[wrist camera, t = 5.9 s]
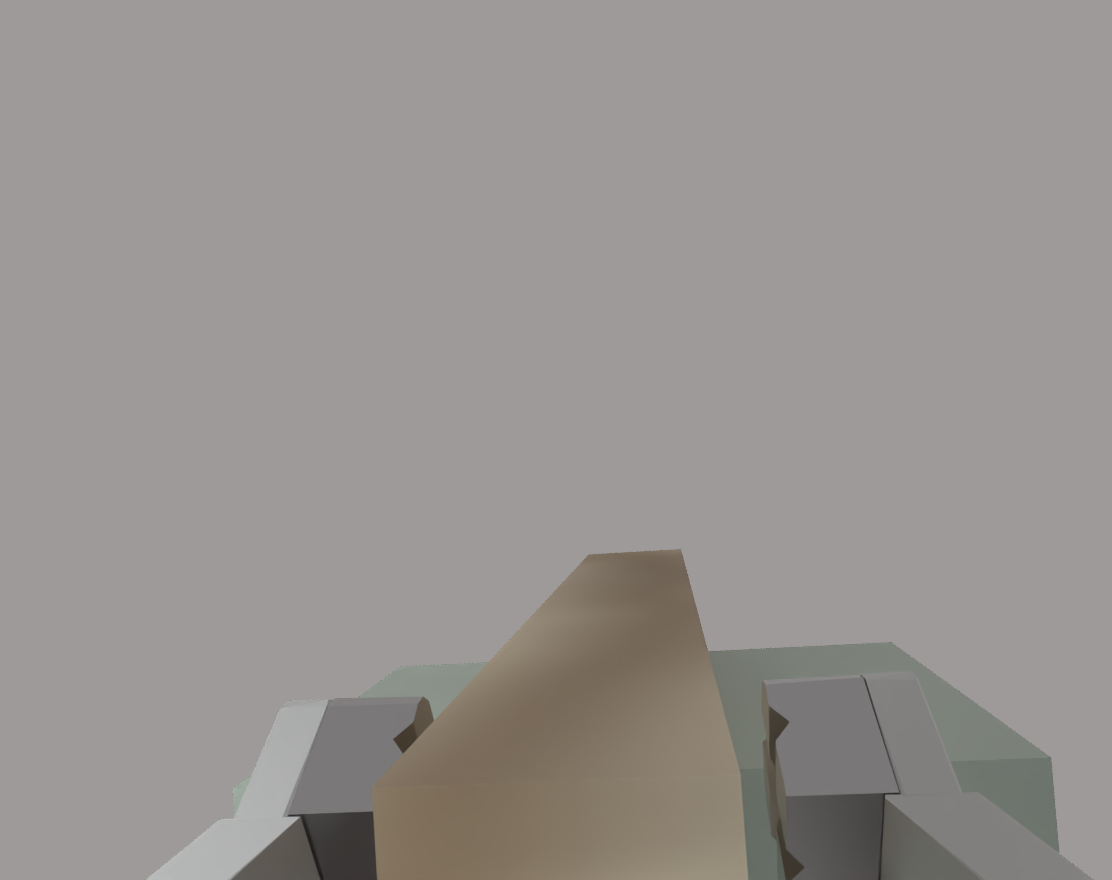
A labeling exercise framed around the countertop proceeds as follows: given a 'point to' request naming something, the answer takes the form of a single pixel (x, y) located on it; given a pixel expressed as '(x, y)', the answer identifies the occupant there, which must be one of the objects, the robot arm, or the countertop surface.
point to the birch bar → (577, 747)
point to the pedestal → (965, 729)
